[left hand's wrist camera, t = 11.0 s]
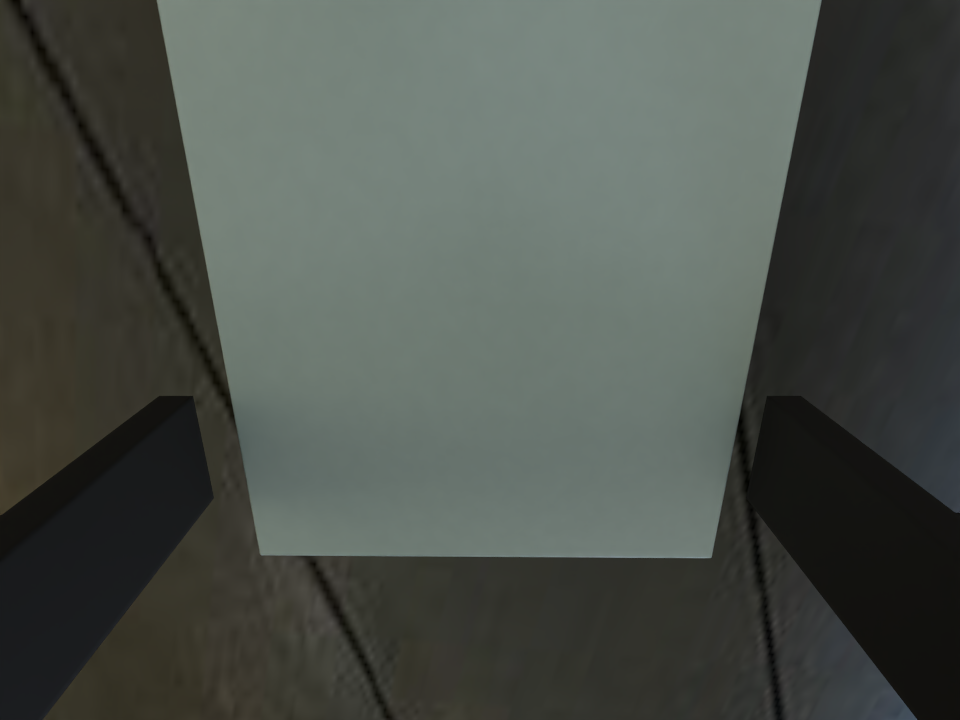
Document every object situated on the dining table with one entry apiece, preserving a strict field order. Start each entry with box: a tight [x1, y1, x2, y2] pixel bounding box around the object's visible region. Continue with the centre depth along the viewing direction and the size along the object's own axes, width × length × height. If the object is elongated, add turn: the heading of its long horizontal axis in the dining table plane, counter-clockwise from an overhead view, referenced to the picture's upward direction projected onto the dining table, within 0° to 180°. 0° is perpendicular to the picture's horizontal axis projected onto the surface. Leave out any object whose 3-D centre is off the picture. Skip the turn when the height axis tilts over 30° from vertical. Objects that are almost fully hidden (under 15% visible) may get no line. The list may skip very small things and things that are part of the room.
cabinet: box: [157, 0, 822, 558], centre depth 15 cm, size 18×11×11 cm, turn 0°
